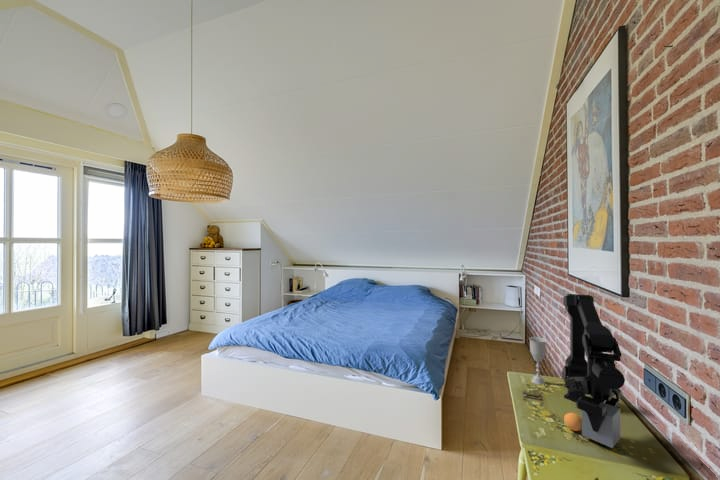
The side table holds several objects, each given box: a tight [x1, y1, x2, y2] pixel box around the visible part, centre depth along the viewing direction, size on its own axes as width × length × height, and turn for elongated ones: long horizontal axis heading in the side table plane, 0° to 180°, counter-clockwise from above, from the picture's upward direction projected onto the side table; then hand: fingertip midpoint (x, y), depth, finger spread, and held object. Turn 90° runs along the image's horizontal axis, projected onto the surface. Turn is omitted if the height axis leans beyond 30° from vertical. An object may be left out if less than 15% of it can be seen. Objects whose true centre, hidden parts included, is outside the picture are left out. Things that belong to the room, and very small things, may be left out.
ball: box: [563, 412, 582, 432], centre depth 99 cm, size 5×5×5 cm
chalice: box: [528, 336, 548, 386], centre depth 132 cm, size 7×7×18 cm
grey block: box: [581, 403, 621, 449], centre depth 93 cm, size 7×7×9 cm
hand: (599, 426), depth 93 cm, fingers closed on grey block, 7 cm apart
